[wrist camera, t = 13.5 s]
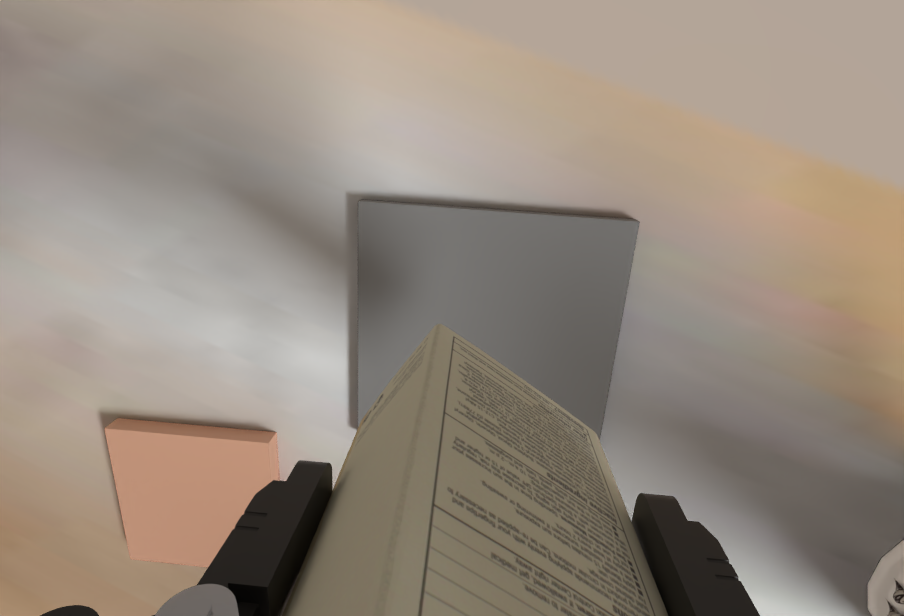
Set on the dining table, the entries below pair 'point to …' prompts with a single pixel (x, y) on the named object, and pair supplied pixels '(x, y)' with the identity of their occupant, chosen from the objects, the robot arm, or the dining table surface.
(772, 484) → the dining table surface
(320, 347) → the dining table surface
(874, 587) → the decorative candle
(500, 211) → the rubber mat
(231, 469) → the glazed tile
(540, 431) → the skincare box
